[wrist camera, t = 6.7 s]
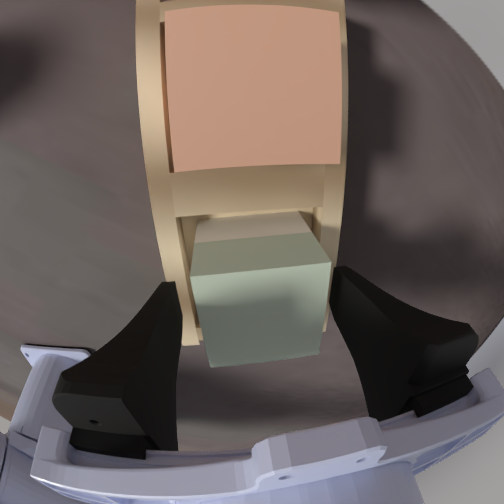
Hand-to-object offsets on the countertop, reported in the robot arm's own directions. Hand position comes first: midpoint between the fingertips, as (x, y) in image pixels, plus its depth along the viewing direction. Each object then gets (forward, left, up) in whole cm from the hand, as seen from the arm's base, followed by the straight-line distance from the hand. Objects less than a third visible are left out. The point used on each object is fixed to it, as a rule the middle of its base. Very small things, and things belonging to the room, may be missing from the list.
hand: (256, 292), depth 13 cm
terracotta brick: (+9, 0, -3) cm, 9 cm away
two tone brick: (0, 0, -3) cm, 3 cm away
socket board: (+4, 0, -4) cm, 6 cm away
